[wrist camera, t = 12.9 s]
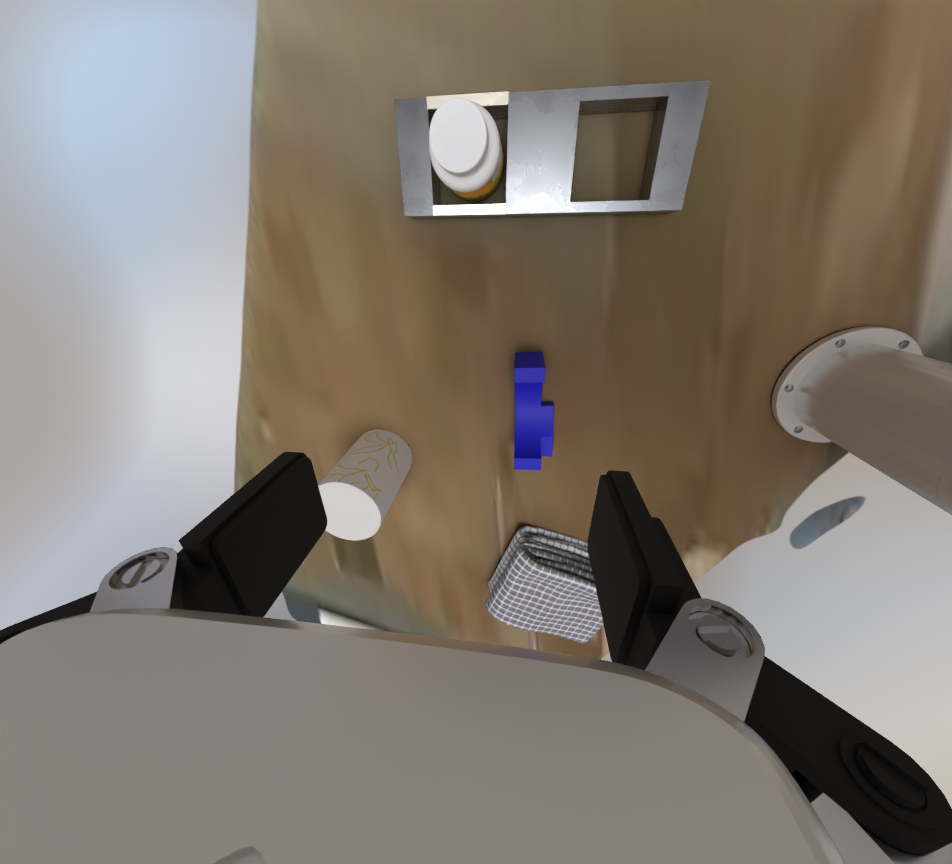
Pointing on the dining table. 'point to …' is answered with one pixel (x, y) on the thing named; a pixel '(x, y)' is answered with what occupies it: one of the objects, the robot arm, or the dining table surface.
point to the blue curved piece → (531, 413)
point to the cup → (364, 484)
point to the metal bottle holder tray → (557, 149)
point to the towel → (546, 586)
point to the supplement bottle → (466, 149)
